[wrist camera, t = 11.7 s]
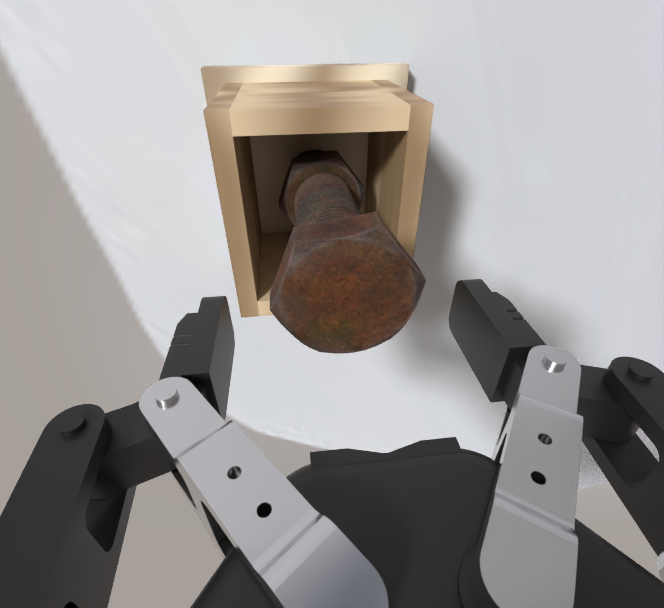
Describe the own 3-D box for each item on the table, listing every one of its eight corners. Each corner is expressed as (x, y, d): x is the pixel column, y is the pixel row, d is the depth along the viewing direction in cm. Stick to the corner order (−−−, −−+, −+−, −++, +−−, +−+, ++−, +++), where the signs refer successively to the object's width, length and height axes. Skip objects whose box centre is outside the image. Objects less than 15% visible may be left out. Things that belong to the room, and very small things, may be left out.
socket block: (403, 63, 24) (465, 83, 16) (388, 239, 31) (425, 313, 23) (203, 66, 23) (166, 89, 15) (235, 248, 30) (220, 329, 22)
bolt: (333, 220, 28) (377, 370, 16) (266, 198, 27) (258, 346, 14) (367, 141, 25) (451, 252, 13) (292, 111, 24) (310, 205, 12)
